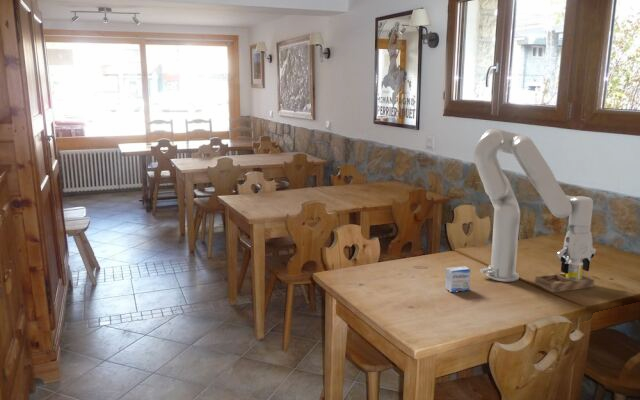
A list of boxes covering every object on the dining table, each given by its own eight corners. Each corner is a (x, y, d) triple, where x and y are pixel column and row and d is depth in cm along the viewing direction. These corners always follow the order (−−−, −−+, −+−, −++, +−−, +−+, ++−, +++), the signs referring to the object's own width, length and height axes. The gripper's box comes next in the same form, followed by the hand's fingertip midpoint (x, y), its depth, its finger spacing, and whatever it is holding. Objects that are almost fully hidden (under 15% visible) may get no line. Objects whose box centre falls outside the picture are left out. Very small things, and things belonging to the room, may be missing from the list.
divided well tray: (552, 292, 192) (552, 284, 191) (535, 283, 201) (535, 276, 200) (593, 286, 197) (594, 279, 196) (575, 278, 206) (575, 271, 205)
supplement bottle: (575, 278, 203) (578, 253, 201) (584, 283, 197) (587, 258, 195) (562, 279, 202) (564, 254, 200) (570, 284, 197) (573, 258, 195)
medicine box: (450, 293, 192) (451, 271, 190) (444, 288, 196) (445, 267, 194) (469, 290, 194) (470, 269, 192) (463, 286, 198) (464, 265, 196)
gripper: (567, 233, 190) (563, 277, 193) (605, 229, 194) (600, 272, 198) (553, 228, 197) (549, 270, 200) (589, 224, 201) (585, 266, 205)
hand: (574, 271), depth 199 cm, fingers open, 9 cm apart
